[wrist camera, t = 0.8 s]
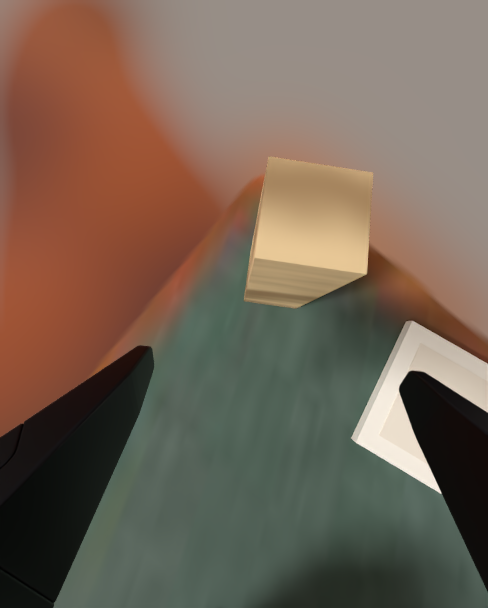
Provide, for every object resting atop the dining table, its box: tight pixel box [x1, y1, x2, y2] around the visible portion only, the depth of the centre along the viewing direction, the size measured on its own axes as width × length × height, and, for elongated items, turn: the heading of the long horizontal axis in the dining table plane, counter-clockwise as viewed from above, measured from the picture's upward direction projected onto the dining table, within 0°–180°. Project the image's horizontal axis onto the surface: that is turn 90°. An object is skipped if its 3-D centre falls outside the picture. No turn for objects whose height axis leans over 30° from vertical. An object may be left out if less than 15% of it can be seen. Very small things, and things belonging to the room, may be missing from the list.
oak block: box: [244, 157, 373, 309], centre depth 17 cm, size 5×5×12 cm
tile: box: [351, 321, 488, 494], centre depth 21 cm, size 12×12×1 cm
